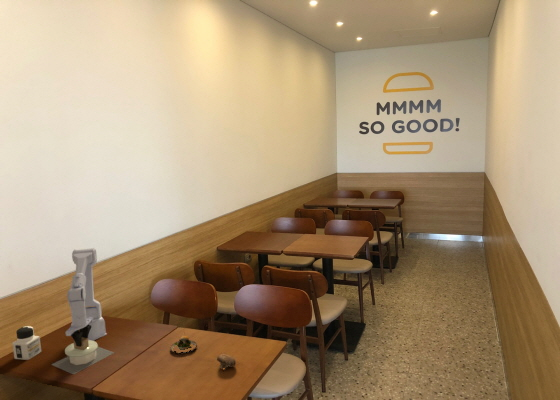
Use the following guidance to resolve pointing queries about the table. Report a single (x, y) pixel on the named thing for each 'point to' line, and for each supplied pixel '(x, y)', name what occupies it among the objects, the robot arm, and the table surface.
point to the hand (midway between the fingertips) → (81, 344)
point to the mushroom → (226, 361)
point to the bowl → (83, 359)
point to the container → (26, 344)
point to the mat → (73, 368)
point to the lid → (81, 348)
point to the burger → (183, 344)
